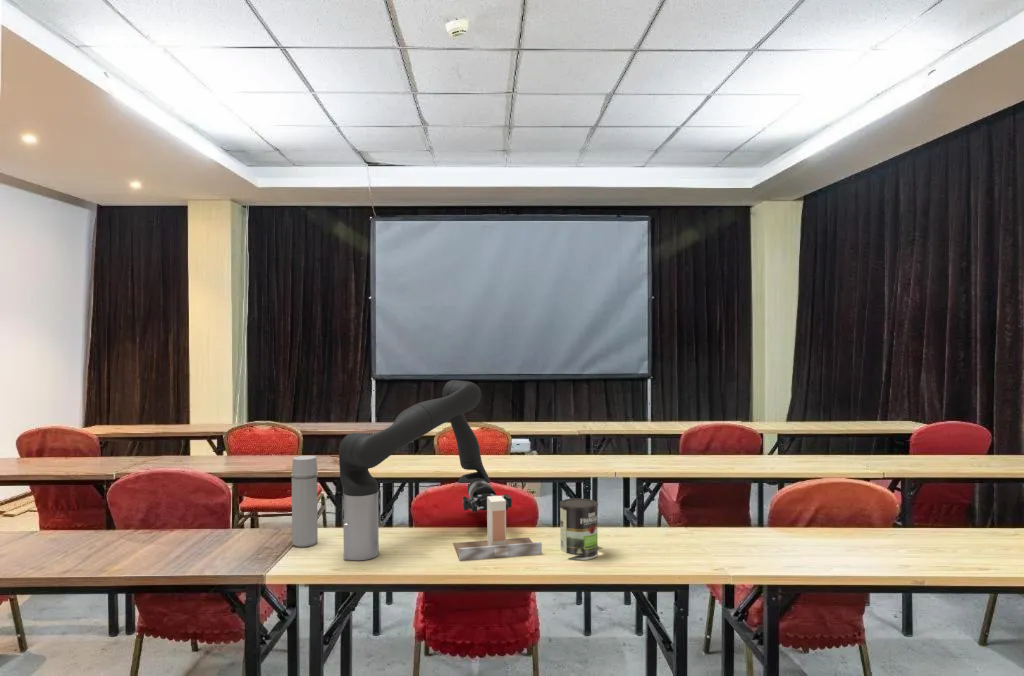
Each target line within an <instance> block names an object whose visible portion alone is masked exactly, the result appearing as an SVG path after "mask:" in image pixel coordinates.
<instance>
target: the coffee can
mask: <svg viewBox="0 0 1024 676" xmlns="http://www.w3.org/2000/svg"><path fill="white" fill-rule="evenodd" d="M598 506H599V505H598V501H596V500H593V499H589V498H580V497H576V498H575V497H574V498H566V499H563V500H560V501H559V511H560V514H559V515H560V516H559V517H560V518H559V519H560V521H559V524H560V550H561V552H563V553H565V554H569V555H575V556H571V557H568V558H567V559H568V560H572V561H588V560H593V559H596V558H597V557H598V555H599V553H598V549H599V548H598V544H599V543H598Z"/></svg>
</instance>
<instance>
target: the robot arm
mask: <svg viewBox="0 0 1024 676" xmlns="http://www.w3.org/2000/svg"><path fill="white" fill-rule="evenodd" d="M481 397H482V391H481V388H480V387H479V386H478V385H477V384H476V383H474V382H471V381H467V380H457V379H456V380H455V379H453V380H452V379H451V380H449V381H447V382H446V383H445V385H443V389H442V397H440V398H434V399H429V400H425V401H420V402H418V403H415V404H414V405H412V406H410V407H408V408H405V409H404V410H403V411H401V412H400V413H399V414H398V415H397V416H396V418H395V419H394V421H393V423H392V424H391V425H390V426H388V427H387V428H385V429H383V430H381V431H378V432H376V433H371V434H368V433H359V432H351V433H348V434H347V435H345V436H344V437H343V438H342V440H341V443H340V445H339V451H338V461H339V462H338V463H339V479H340V480H339V481H340V483H341V486H342V488H343V526H342V530H343V560H345V561H346V560H350V561H365V560H366V561H367V560H371V559H374V558H376V557H377V556H379V554H380V552H379V551H380V543H379V542H380V541H379V537H380V536H379V533H380V532H379V527H380V526H379V483H378V481H377V479H376V478H374V477H373V475H371V473H370V471H369V469H373V468H375V467H377V466H379V464H381V463H382V462H384V461H385V460H387V459H388V458H390V457H391V456H392V455H393V454H394V453H396V452H397V451H399V450H401V449H402V448H403V447H405V446H407V445H409V444H410V443H412V442H414V441H415V440H418V439H420V438H422V437H423V436H425V435H427V434H428V433H430V432H431V431H434V429H436V428H438V427H439V426H441V425H443V424H445V423H446V422H448V421H449V423H450V424H451V428H452V430H453V434H454V437H455V440H456V445H457V451H458V452H457V453H458V457H459V463H460V467H461V468H462V469H463V470H466V471H475V472H470V473H467V474H463V475H461V476H460V477H459V479H458V481H457V483H470V484H468V494H469V497H470V498H467V497H465V496H463V497H462V508H463V511H468V510H469V509H470V511H471V512H473V513H474V514H478V510H479V511H481V512H483V511H484V512H485V511H487V497H488V496H498V495H497V494H496V491H495V490H494V489H493V487H492V486H491V480H490V476H489V474H488V473H487V470H486V469H485V466H484V465H483V461H482V456H481V451H480V450H481V448H480V445H479V441H478V439H477V437H476V434H475V433H474V431H473V428H472V427H470V425H469V423H468V421H467V419H466V416H465V413H467V412H469V411H471V410H473V409H474V408H476V407H477V406H478V405H479V403H480V400H481ZM488 483H490V485H489V484H488ZM502 497H503V498H504V499H505V501H506V512H507V511H508V510H509V508H512V507H513V503H512V502H513V501H512V500H513V497H511V496H510V495H508V494H507V493H505V494H503V495H502Z"/></svg>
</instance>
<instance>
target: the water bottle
mask: <svg viewBox="0 0 1024 676" xmlns="http://www.w3.org/2000/svg"><path fill="white" fill-rule="evenodd" d="M318 472H319V471H318V462H317V456H316V455H299V456H294V457H293V458H292V466H291V473H290V476H291V532H292V533H291V538H292V539H291V541H292V542H291V544H292V546H295V547H297V548H307V547H310V546H311V547H312V546H314V545H315V544H317V542H318V537H319V536H318V535H319V533H318V524H319V523H318V475H319V473H318Z"/></svg>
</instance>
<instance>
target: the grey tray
mask: <svg viewBox="0 0 1024 676" xmlns="http://www.w3.org/2000/svg"><path fill="white" fill-rule="evenodd" d="M452 545H453V548H454V551H455V553H456V556H457V558H458V561H460V562H463V561H476V560H489V559H500V558H514V557H526V556H537V555H538V556H540V555H542V554H543V551H542V549H543V546H542V545H543V543H542V541H538V542H537V541H536V542H535V541H534V542H533V541H532V540H531V539H530V537H517V538H516V537H515V538H506V545H495V546H488V544H487V540H475V541H464V542H463V541H461V542H453V543H452Z"/></svg>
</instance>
